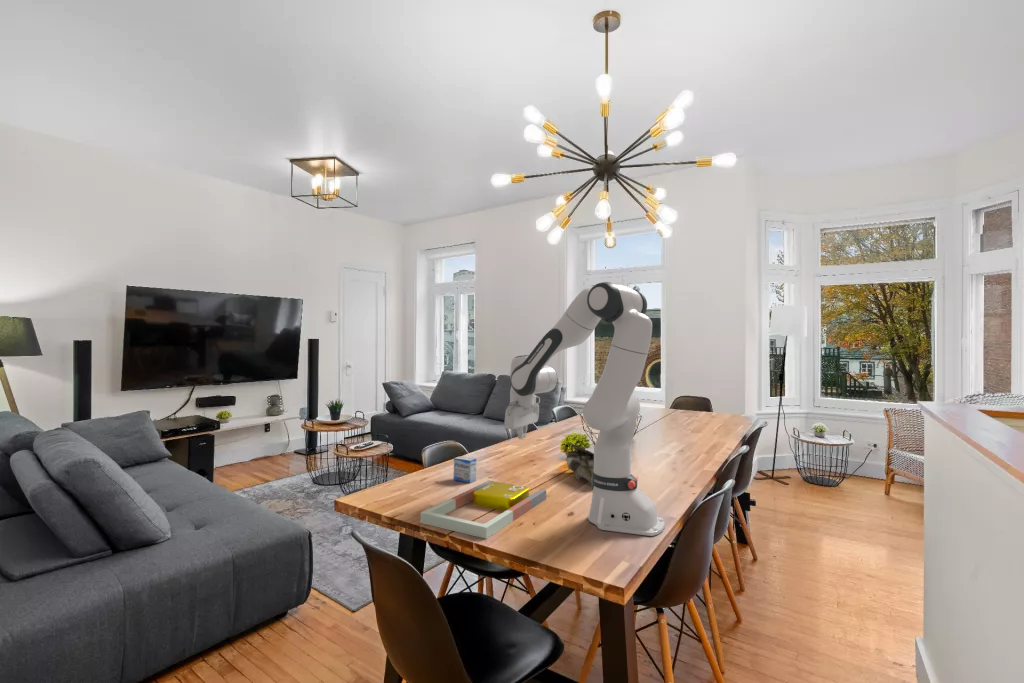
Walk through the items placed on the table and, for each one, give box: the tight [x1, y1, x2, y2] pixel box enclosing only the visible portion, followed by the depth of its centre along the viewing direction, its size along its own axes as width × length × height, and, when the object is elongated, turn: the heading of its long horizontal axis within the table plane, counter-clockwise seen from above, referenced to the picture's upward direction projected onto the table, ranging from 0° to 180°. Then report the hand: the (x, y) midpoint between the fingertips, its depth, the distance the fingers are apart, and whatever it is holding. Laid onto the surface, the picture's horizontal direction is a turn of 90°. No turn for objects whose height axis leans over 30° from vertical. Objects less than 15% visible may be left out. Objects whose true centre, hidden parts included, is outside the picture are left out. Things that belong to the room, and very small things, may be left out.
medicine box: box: [453, 456, 477, 484], centre depth 187 cm, size 8×4×9 cm, turn 62°
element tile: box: [472, 481, 530, 512], centre depth 163 cm, size 15×15×5 cm
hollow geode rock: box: [566, 443, 594, 484], centre depth 191 cm, size 28×13×15 cm
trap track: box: [420, 479, 547, 539], centre depth 154 cm, size 23×39×3 cm, turn 151°
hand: (521, 438), depth 175 cm, fingers closed
